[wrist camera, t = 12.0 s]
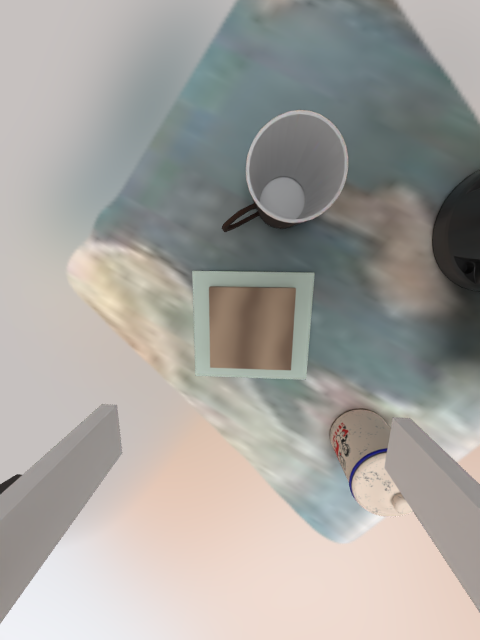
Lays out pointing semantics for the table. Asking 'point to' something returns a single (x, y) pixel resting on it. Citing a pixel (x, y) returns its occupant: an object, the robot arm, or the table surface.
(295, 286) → the sage mat
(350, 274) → the table surface
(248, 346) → the walnut lid
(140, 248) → the table surface
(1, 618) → the robot arm
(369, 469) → the teacup with lid
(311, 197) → the coffee mug
